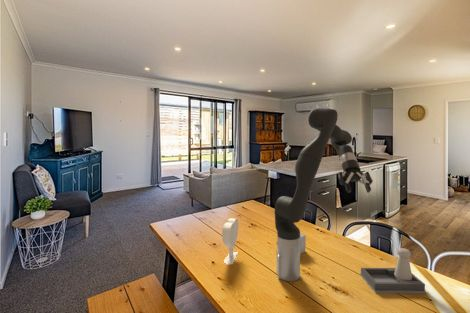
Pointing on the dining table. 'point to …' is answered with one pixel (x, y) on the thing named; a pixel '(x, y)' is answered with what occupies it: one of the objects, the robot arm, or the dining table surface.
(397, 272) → the salt shaker
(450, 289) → the dining table surface
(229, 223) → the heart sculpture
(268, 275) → the dining table surface
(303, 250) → the medicine box
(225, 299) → the dining table surface
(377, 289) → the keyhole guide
